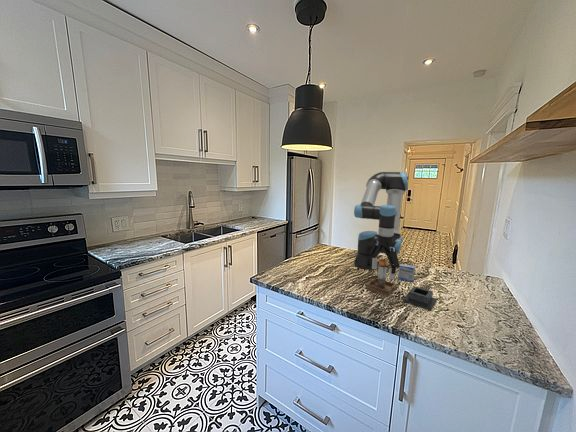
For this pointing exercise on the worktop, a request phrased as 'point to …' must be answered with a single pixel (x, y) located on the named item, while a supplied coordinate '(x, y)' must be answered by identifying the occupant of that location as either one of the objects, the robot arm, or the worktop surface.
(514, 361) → the worktop surface
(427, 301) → the block
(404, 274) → the medicine box
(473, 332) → the worktop surface
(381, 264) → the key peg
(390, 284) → the tray
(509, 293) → the worktop surface
